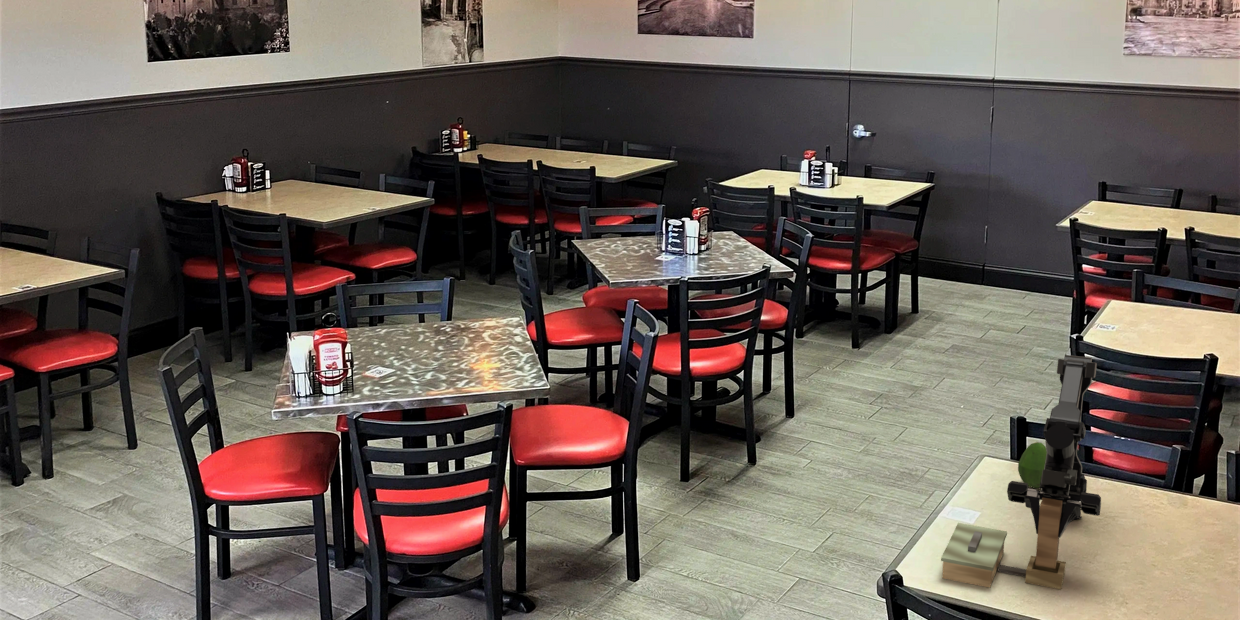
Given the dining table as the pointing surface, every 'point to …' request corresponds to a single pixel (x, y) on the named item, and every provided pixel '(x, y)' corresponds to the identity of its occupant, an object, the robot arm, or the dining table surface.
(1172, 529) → the dining table surface
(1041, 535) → the brown wooden block
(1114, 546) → the dining table surface
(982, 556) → the wooden box with frame
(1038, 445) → the avocado
